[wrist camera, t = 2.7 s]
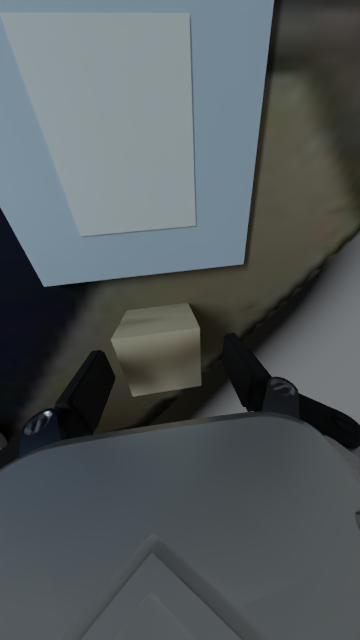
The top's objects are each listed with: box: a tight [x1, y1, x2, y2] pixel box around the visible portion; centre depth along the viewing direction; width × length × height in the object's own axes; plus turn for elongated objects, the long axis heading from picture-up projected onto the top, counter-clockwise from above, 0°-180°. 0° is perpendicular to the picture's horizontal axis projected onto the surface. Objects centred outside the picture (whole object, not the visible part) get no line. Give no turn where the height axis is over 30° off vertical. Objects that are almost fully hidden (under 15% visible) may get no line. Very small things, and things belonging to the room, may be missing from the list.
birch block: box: [111, 303, 201, 396], centre depth 13 cm, size 6×6×5 cm
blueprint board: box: [0, 0, 274, 287], centre depth 8 cm, size 14×16×1 cm
